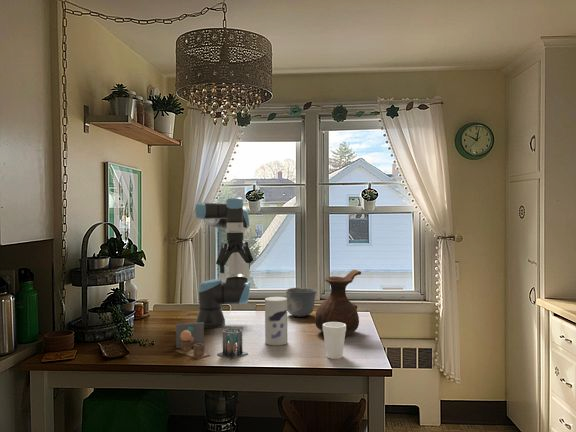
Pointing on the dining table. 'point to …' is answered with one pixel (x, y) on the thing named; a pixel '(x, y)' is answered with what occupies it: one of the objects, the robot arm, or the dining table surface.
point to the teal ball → (233, 338)
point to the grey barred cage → (239, 350)
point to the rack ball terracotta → (185, 335)
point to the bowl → (300, 301)
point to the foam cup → (334, 339)
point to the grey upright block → (195, 330)
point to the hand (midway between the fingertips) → (235, 278)
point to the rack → (192, 350)
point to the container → (276, 320)
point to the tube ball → (230, 347)
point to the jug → (338, 305)
